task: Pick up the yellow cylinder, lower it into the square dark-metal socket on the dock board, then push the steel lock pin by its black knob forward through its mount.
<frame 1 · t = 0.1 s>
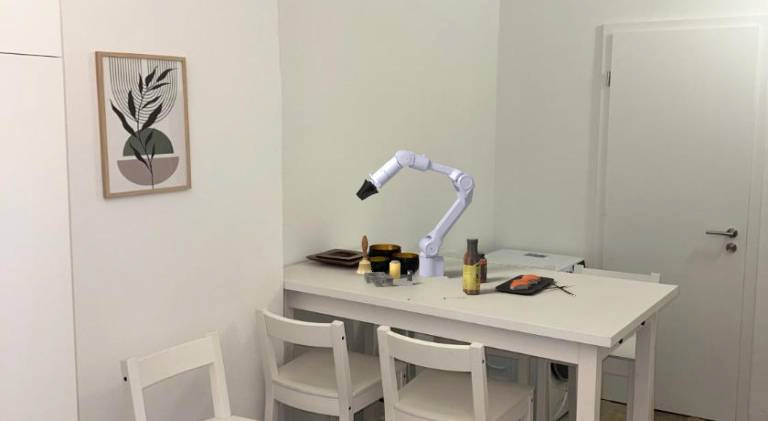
hand: (358, 197, 286), 32 cm above the table, tool tilted 50°, fingers open, 7 cm apart
dock: (388, 284, 282), on the table
sauce bottle: (471, 293, 271), on the table
sushi plate: (545, 291, 278), on the table
hand bell: (364, 275, 299), on the table
supplement bottle: (478, 282, 289), on the table
yellow cylinder: (394, 278, 288), point 1 cm above the table, touching dock
lock pin: (401, 278, 277), point 4 cm above the table, slide at 0.0 cm
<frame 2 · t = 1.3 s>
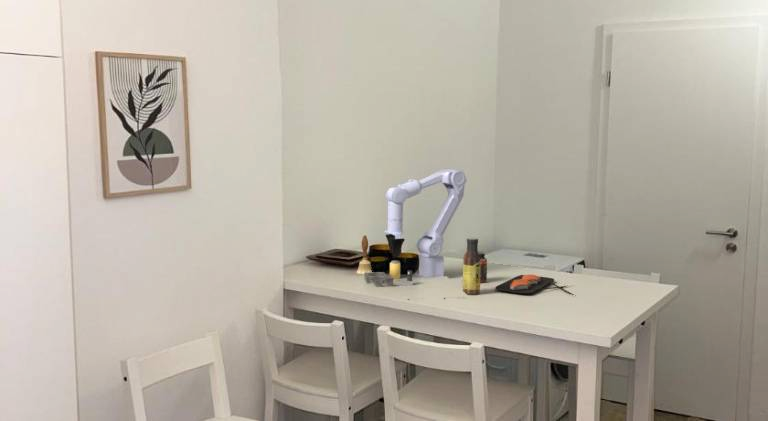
hand: (394, 254, 287), 10 cm above the table, tool pointing down, fingers open, 7 cm apart
nothing on the table moved.
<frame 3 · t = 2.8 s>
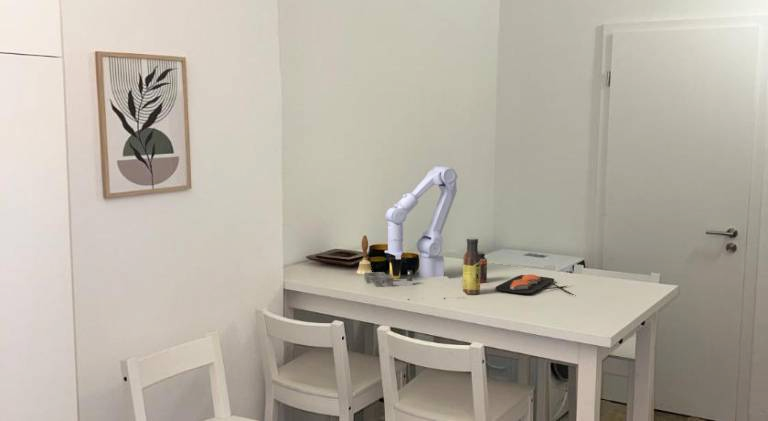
hand: (394, 274, 288), 3 cm above the table, tool pointing down, fingers closed on yellow cylinder, 4 cm apart
yellow cylinder: (394, 278, 288), point 1 cm above the table, touching dock, gripper
everything else where it was.
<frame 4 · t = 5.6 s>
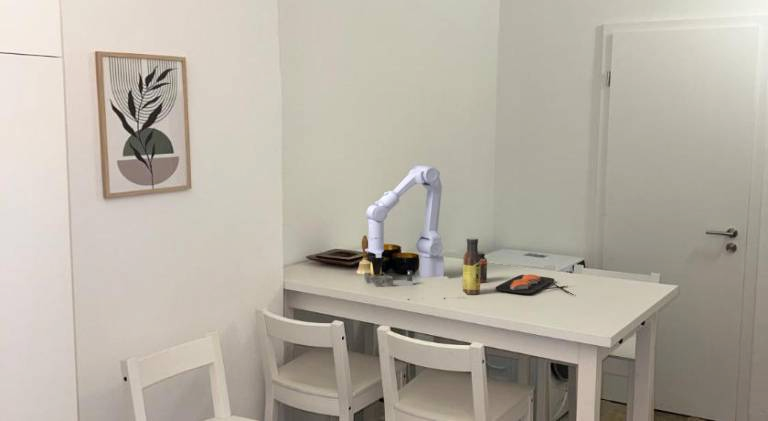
hand: (375, 273, 283), 4 cm above the table, tool pointing down, fingers closed on yellow cylinder, 4 cm apart
yellow cylinder: (375, 278, 283), point 2 cm above the table, touching gripper
everything else where it was.
when the fingers open (4 cm above the table, at t = 5.6 s): yellow cylinder stays where it is, resting on dock.
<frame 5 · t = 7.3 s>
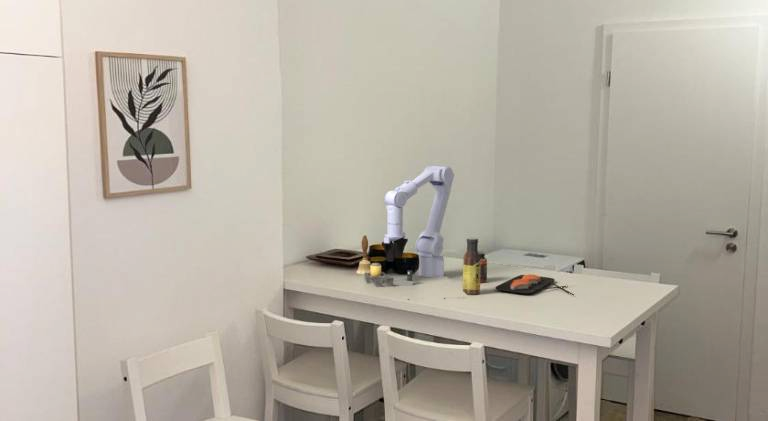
hand: (394, 259, 280), 10 cm above the table, tool pointing down, fingers open, 7 cm apart
yellow cylinder: (375, 281, 283), point 1 cm above the table, touching dock
everything else where it was.
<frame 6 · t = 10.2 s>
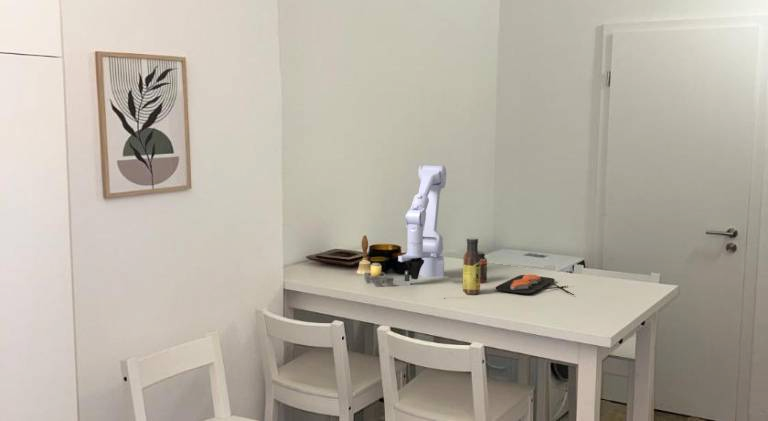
hand: (414, 278, 277), 3 cm above the table, tool pointing down, fingers closed
lock pin: (399, 278, 277), point 4 cm above the table, slide at 1.0 cm, touching gripper
everything else where it was.
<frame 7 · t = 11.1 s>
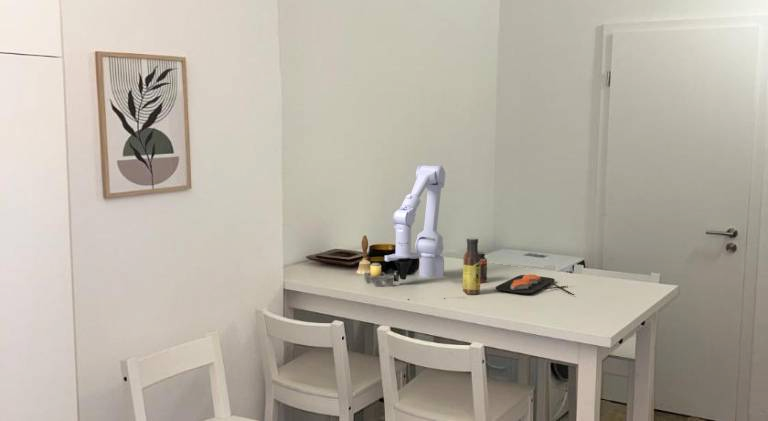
hand: (402, 279, 277), 3 cm above the table, tool pointing down, fingers closed
lock pin: (388, 278, 276), point 4 cm above the table, slide at 5.0 cm, touching gripper
everything else where it was.
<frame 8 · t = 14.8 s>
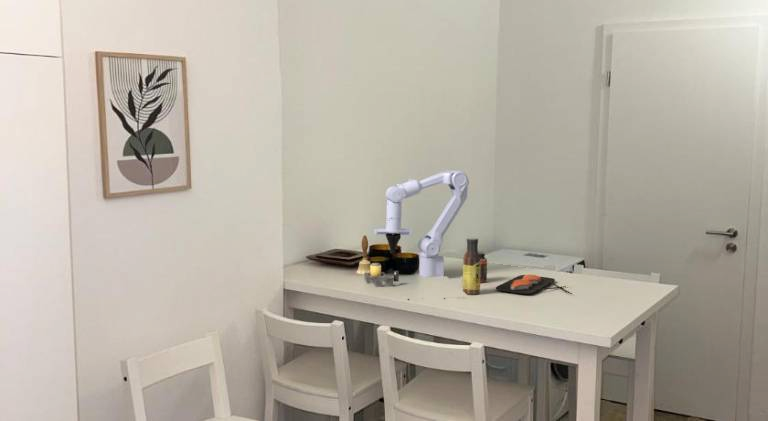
hand: (392, 253, 290), 10 cm above the table, tool pointing down, fingers closed
lock pin: (388, 278, 276), point 4 cm above the table, slide at 5.0 cm
everything else where it was.
at the end: yellow cylinder 0.0 cm from the target spot on the dock, point 1.2 cm above the dock's base; yellow cylinder tilted 1°; lock pin slide at 5.0 cm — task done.
